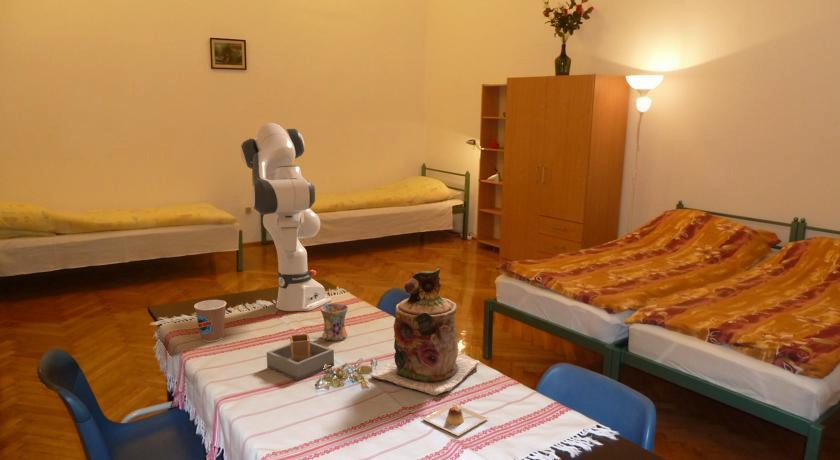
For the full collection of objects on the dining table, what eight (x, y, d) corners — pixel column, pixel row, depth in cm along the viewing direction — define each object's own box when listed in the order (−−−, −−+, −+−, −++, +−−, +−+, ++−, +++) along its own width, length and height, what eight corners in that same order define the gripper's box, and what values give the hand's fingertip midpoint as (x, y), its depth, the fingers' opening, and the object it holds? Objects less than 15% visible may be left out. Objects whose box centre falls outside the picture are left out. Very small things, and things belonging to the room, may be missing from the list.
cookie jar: (412, 350, 195) (412, 254, 189) (481, 367, 183) (484, 264, 176) (367, 379, 174) (365, 271, 168) (442, 400, 162) (443, 284, 156)
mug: (353, 338, 205) (353, 308, 203) (330, 345, 199) (330, 314, 197) (334, 328, 214) (333, 300, 212) (311, 335, 208) (310, 305, 206)
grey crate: (303, 353, 192) (303, 338, 191) (334, 365, 183) (333, 349, 182) (267, 367, 181) (266, 352, 180) (297, 380, 173) (297, 364, 172)
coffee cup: (189, 340, 203) (187, 306, 200) (213, 330, 212) (210, 297, 209) (212, 346, 198) (209, 310, 196) (235, 335, 207) (233, 302, 205)
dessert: (421, 422, 151) (421, 404, 150) (452, 406, 160) (452, 389, 159) (458, 440, 143) (458, 421, 142) (488, 421, 152) (489, 404, 151)
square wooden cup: (291, 360, 185) (290, 335, 183) (309, 358, 186) (308, 333, 184) (291, 368, 179) (290, 342, 177) (310, 366, 180) (309, 340, 179)
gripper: (280, 212, 199) (281, 253, 202) (277, 223, 179) (279, 268, 182) (299, 211, 200) (301, 252, 203) (299, 222, 181) (301, 267, 183)
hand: (291, 260), depth 192 cm, fingers open, 8 cm apart
